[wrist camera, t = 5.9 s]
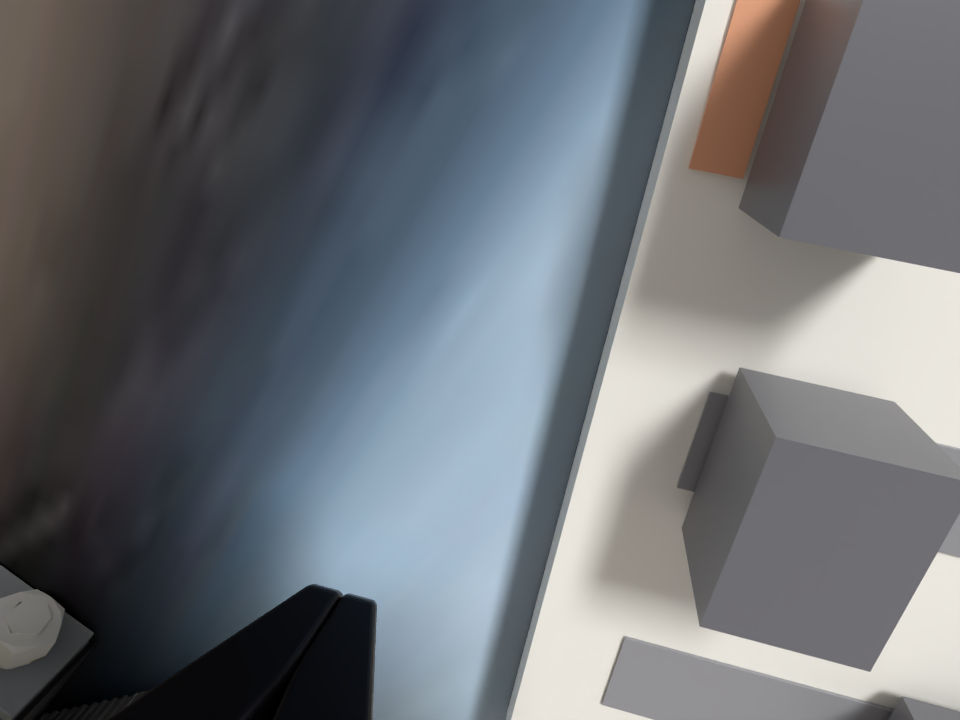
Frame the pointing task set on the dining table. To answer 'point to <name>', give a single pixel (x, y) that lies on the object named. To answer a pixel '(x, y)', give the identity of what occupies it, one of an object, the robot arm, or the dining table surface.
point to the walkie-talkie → (93, 709)
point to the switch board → (698, 410)
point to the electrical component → (35, 648)
